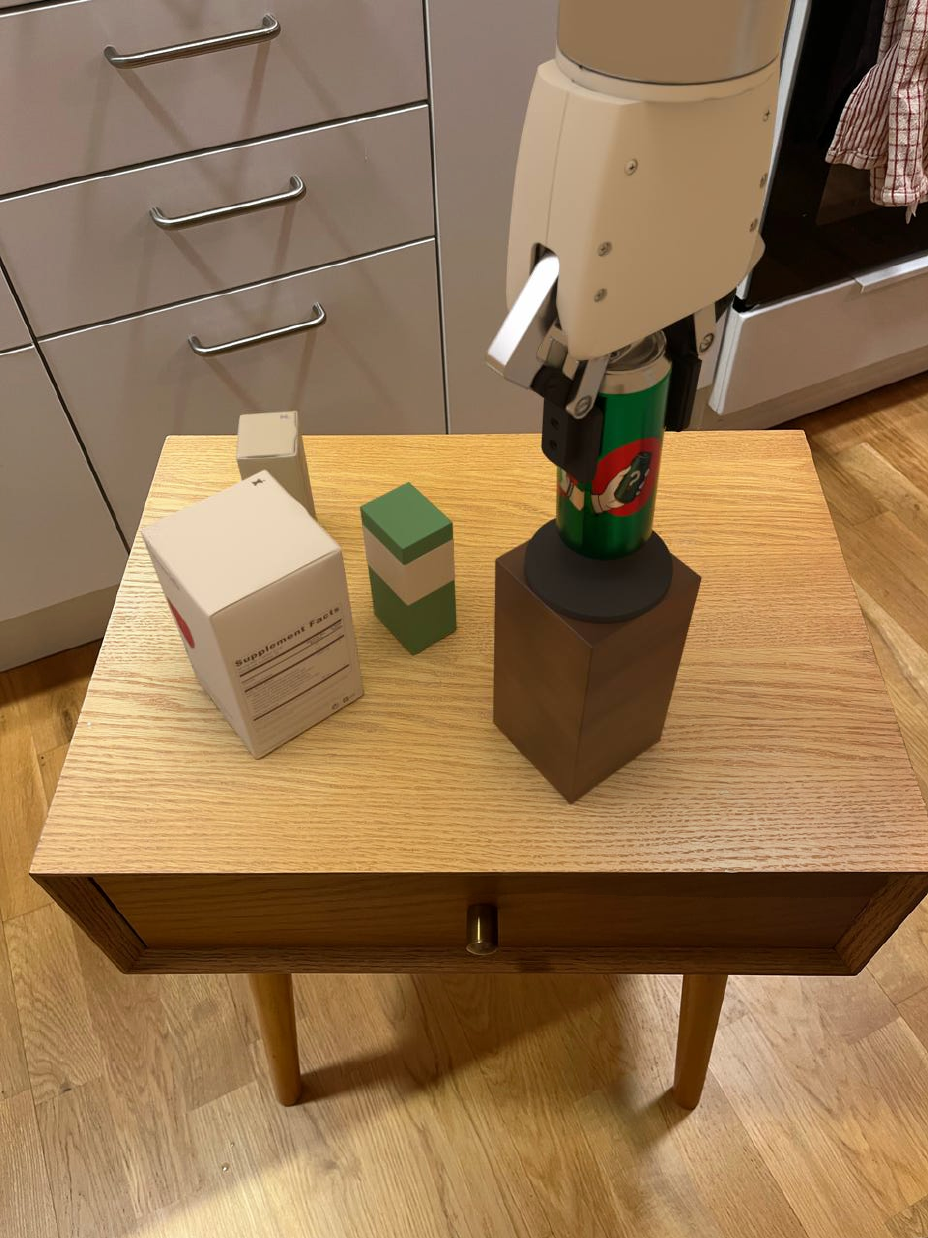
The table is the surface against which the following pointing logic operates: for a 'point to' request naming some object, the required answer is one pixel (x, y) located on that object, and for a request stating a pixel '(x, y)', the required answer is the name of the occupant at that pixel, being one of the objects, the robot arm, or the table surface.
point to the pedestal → (584, 678)
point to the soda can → (620, 455)
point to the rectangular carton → (259, 609)
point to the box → (275, 453)
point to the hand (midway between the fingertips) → (615, 438)
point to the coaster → (597, 578)
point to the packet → (410, 566)
